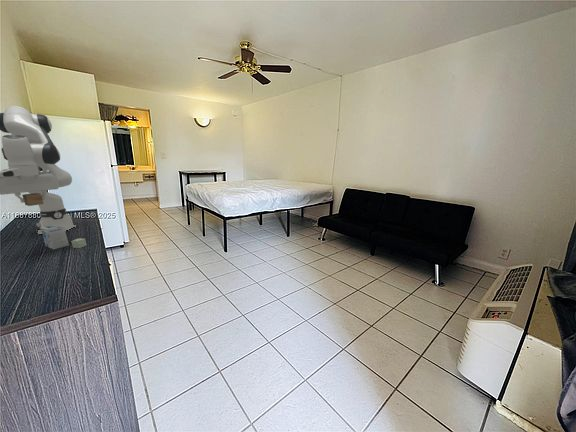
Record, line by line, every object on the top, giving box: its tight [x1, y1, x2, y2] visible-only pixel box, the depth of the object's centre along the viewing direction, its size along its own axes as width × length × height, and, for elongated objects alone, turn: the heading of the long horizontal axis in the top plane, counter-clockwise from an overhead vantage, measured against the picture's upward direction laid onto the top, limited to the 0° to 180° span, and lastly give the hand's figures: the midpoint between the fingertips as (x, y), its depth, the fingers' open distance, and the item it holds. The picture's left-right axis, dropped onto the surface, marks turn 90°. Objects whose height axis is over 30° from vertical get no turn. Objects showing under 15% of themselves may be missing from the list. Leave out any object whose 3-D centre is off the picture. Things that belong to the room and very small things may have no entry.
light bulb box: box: [41, 225, 70, 250], centre depth 125 cm, size 11×7×11 cm, turn 62°
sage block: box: [71, 237, 87, 249], centre depth 124 cm, size 4×4×4 cm
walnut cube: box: [21, 193, 44, 207], centre depth 110 cm, size 5×5×5 cm
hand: (33, 201), depth 111 cm, fingers closed on walnut cube, 5 cm apart
